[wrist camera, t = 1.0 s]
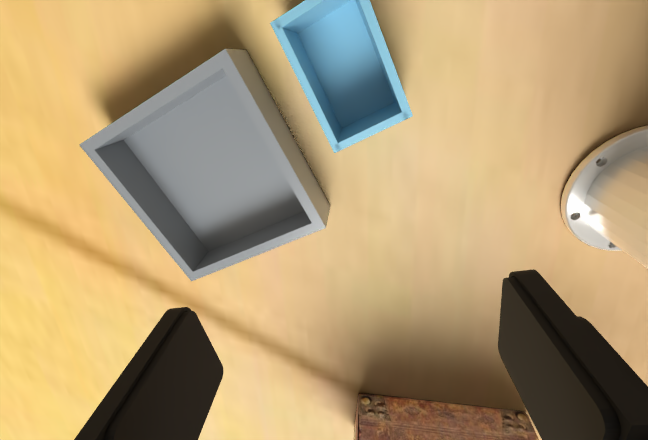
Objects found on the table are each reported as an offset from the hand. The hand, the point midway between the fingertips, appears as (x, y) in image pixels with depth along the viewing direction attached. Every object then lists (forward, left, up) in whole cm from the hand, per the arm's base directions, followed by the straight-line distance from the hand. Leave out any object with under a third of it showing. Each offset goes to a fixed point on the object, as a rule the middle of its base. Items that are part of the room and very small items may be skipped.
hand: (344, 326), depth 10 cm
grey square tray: (+14, -3, -24) cm, 28 cm away
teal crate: (-2, -6, -24) cm, 25 cm away
